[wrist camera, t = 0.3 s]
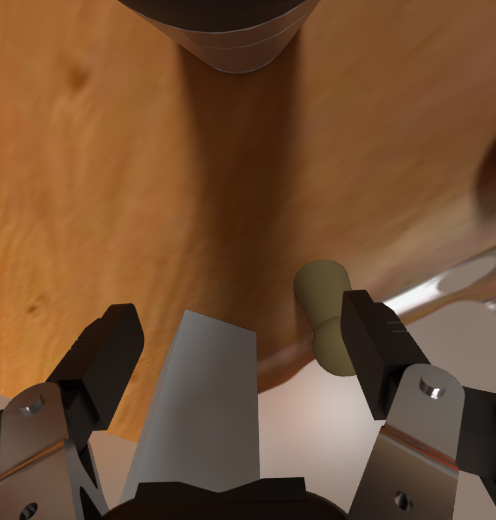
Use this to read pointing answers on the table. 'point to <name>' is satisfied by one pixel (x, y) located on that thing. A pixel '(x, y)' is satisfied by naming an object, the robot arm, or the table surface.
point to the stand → (202, 411)
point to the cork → (325, 312)
